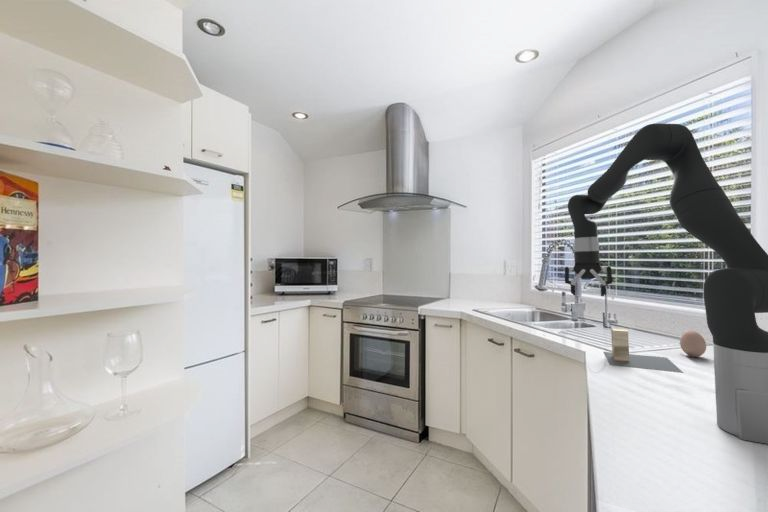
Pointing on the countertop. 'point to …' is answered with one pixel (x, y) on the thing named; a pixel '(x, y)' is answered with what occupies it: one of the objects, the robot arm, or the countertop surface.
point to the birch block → (620, 344)
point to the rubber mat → (645, 362)
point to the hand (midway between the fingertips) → (588, 295)
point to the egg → (693, 343)
